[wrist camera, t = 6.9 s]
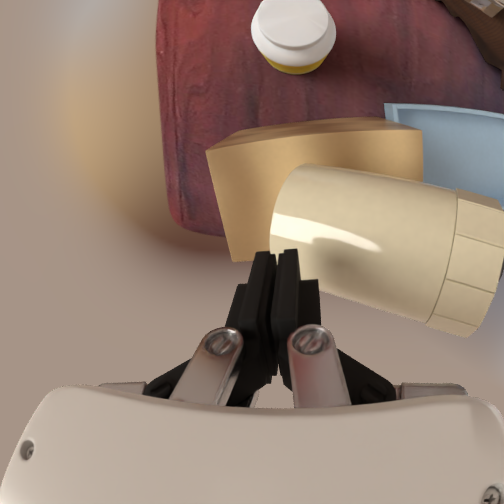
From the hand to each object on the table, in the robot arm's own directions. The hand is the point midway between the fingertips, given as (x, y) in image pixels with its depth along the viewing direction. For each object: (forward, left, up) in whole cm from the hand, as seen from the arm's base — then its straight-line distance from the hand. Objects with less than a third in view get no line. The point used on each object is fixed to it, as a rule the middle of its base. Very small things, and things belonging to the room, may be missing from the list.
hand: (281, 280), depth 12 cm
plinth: (+2, +1, -21) cm, 21 cm away
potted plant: (+11, +36, -21) cm, 43 cm away
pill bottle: (-5, +12, -21) cm, 25 cm away
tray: (+18, +13, -21) cm, 31 cm away
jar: (+1, 0, -6) cm, 6 cm away
